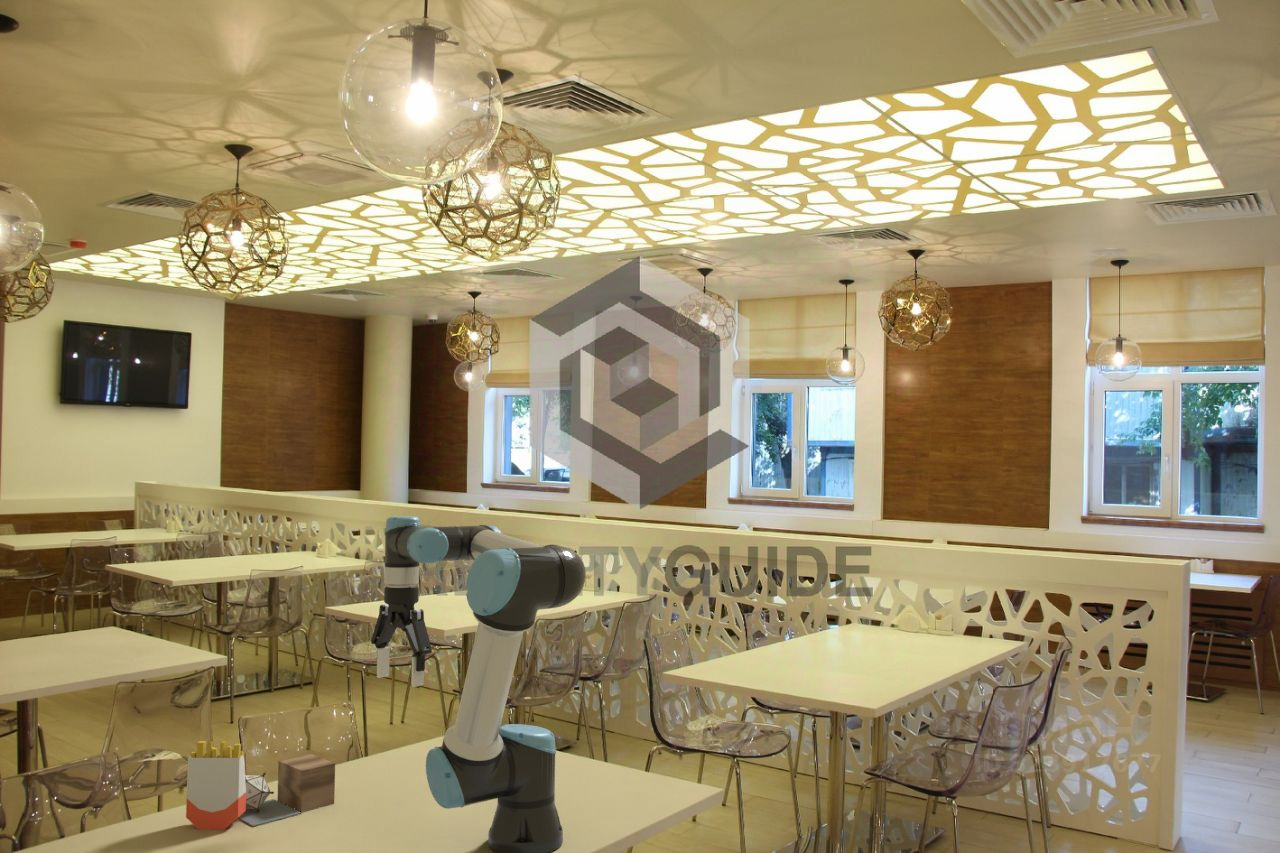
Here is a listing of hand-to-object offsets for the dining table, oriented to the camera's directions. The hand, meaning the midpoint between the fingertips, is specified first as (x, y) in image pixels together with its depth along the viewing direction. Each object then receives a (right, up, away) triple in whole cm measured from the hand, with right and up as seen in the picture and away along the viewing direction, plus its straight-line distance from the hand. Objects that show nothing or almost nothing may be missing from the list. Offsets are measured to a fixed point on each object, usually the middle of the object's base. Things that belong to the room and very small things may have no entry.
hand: (399, 681), depth 216 cm
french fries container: (-37, -28, -10) cm, 47 cm away
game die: (-30, -23, +2) cm, 38 cm away
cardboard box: (-23, -29, +5) cm, 37 cm away
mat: (-29, -28, -2) cm, 41 cm away
